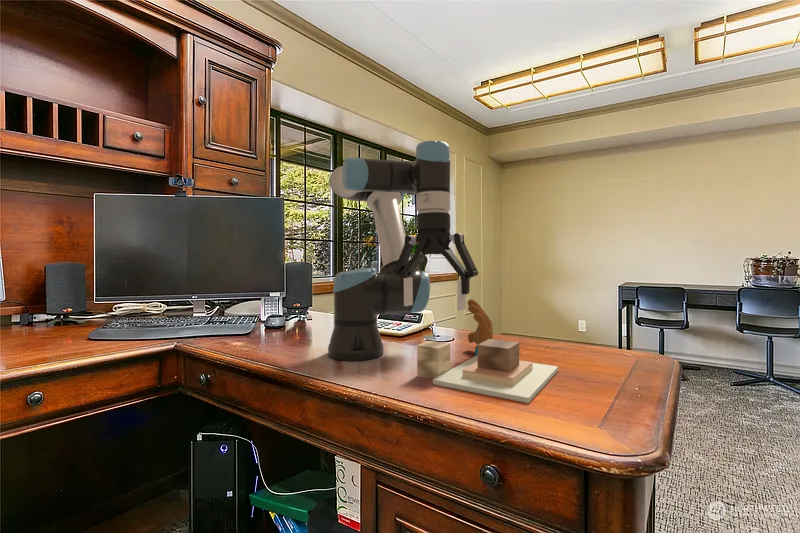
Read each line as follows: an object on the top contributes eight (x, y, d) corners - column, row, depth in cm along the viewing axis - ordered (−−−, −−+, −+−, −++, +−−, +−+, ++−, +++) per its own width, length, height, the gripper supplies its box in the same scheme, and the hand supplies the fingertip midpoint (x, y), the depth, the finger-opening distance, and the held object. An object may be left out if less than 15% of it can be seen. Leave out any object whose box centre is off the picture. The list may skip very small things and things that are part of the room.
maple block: (417, 376, 91) (417, 345, 91) (429, 370, 96) (429, 340, 95) (438, 380, 88) (438, 348, 88) (450, 373, 92) (450, 343, 92)
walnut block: (477, 367, 88) (477, 344, 88) (489, 360, 94) (489, 338, 94) (508, 372, 85) (509, 348, 84) (519, 364, 90) (519, 342, 90)
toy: (467, 348, 116) (467, 296, 116) (492, 349, 115) (492, 296, 115) (467, 359, 104) (467, 301, 104) (495, 360, 103) (495, 302, 103)
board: (432, 384, 85) (432, 372, 85) (477, 358, 105) (477, 349, 105) (528, 403, 74) (528, 389, 74) (558, 370, 94) (558, 360, 94)
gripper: (378, 214, 94) (379, 305, 95) (479, 207, 80) (479, 313, 81) (396, 217, 100) (397, 302, 101) (492, 210, 87) (493, 309, 87)
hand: (433, 307), depth 91 cm, fingers open, 13 cm apart
